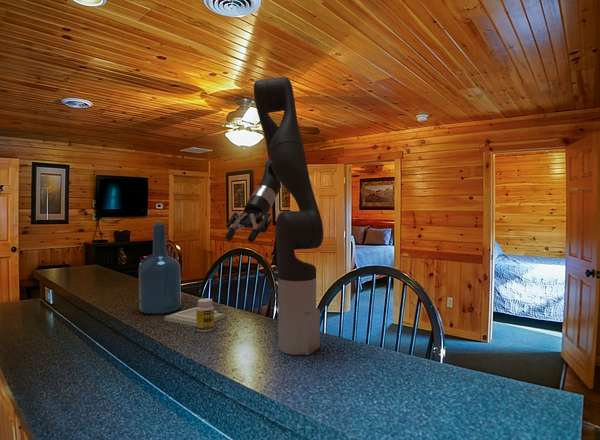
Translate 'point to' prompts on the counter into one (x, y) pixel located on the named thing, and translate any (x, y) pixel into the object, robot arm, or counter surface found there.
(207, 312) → the supplement bottle
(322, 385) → the counter surface
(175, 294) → the wine bottle
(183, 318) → the grey-green flat tray
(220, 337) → the counter surface
